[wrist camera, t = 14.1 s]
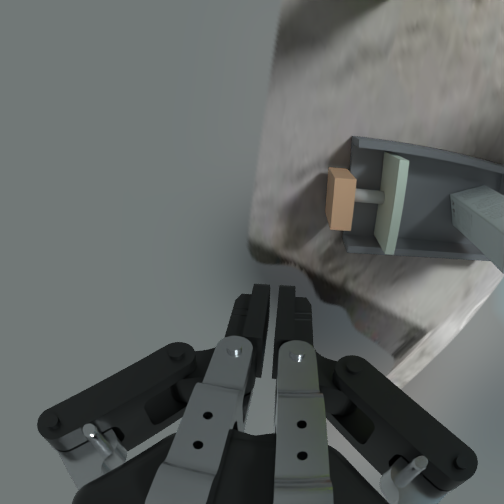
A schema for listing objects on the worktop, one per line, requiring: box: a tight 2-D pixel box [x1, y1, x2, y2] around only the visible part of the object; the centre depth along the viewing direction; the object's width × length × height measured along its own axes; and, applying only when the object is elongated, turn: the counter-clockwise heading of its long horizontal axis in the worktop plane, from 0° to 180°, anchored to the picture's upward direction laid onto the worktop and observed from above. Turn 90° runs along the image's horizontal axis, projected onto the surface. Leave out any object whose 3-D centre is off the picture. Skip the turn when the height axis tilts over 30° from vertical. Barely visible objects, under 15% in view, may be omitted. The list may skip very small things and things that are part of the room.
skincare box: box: [450, 185, 504, 274], centre depth 24 cm, size 6×4×12 cm
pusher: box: [325, 151, 409, 255], centre depth 28 cm, size 7×10×5 cm
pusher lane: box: [342, 136, 504, 261], centre depth 29 cm, size 22×12×4 cm, turn 90°
